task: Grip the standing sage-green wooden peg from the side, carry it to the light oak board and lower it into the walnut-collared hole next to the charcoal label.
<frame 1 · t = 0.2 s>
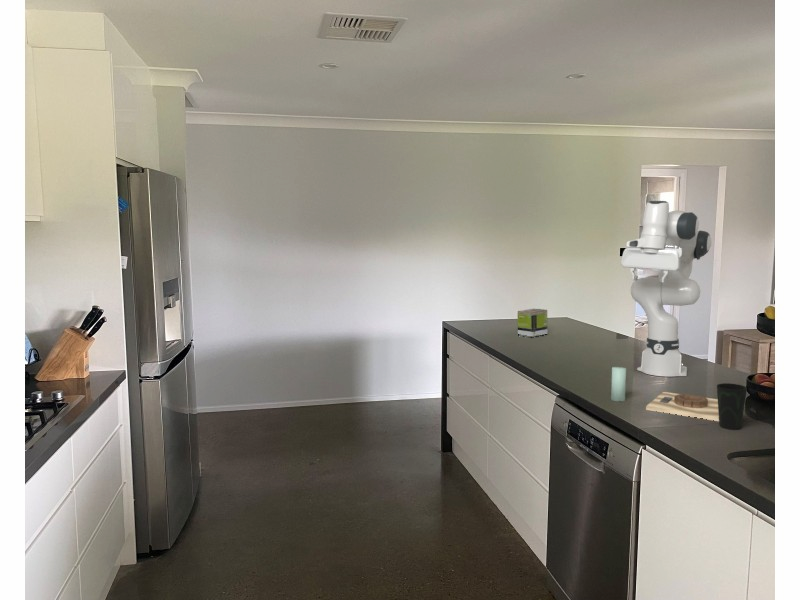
hand: (648, 281, 220), 39 cm above the worktop, tool pointing down, fingers open, 8 cm apart
tea box: (532, 336, 336), on the worktop
peg: (618, 399, 204), on the worktop
socket board: (690, 407, 194), on the worktop
cup: (730, 427, 174), on the worktop
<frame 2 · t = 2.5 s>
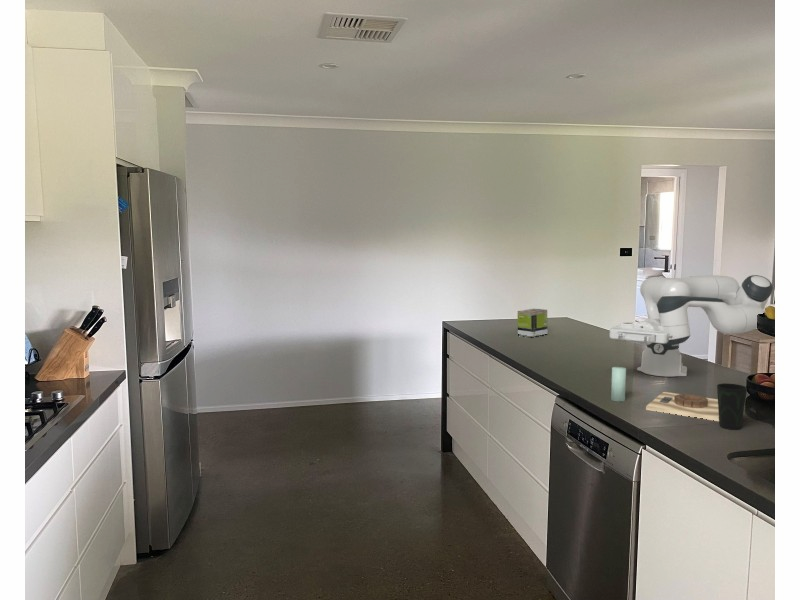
hand: (632, 338, 211), 20 cm above the worktop, tool horizontal, fingers open, 8 cm apart
nothing on the worktop moved.
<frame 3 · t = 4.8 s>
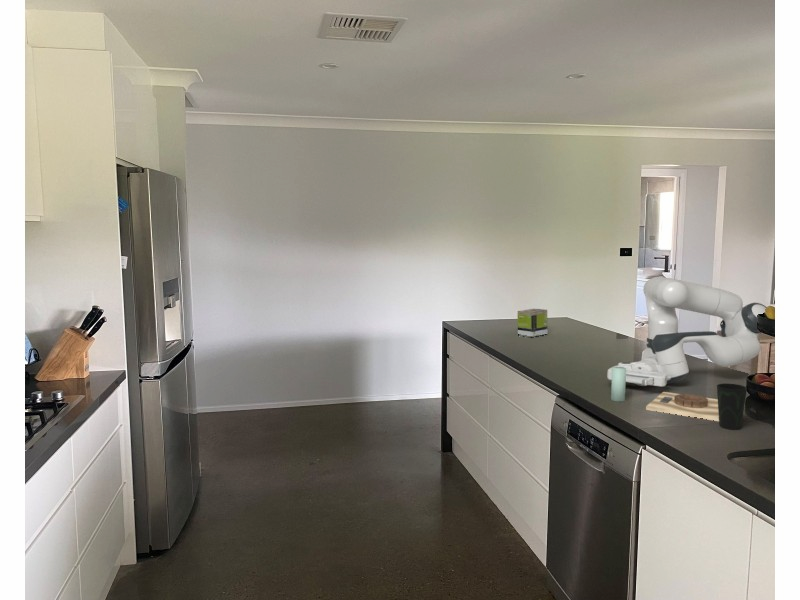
hand: (630, 381, 209), 5 cm above the worktop, tool horizontal, fingers open, 8 cm apart
nothing on the worktop moved.
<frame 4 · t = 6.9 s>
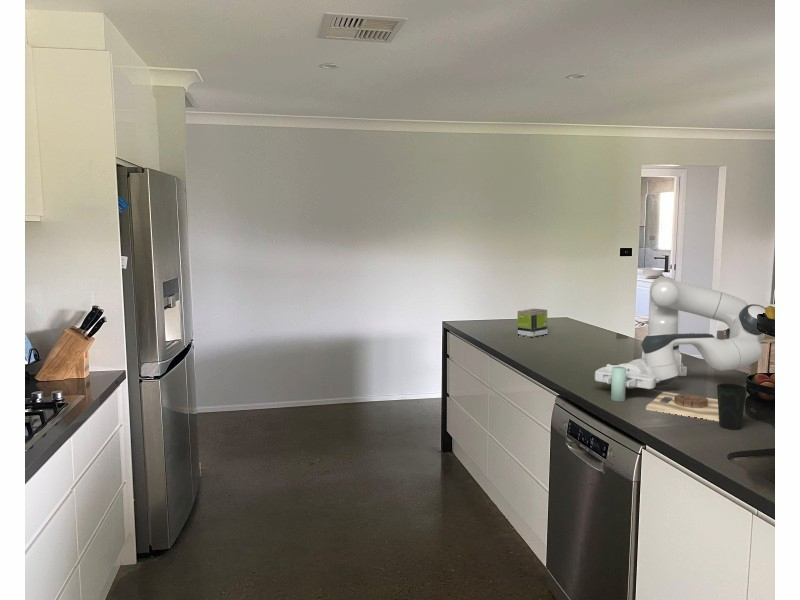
hand: (617, 382, 202), 6 cm above the worktop, tool horizontal, fingers closed on peg, 4 cm apart
peg: (618, 399, 204), on the worktop, touching gripper
everything else where it was.
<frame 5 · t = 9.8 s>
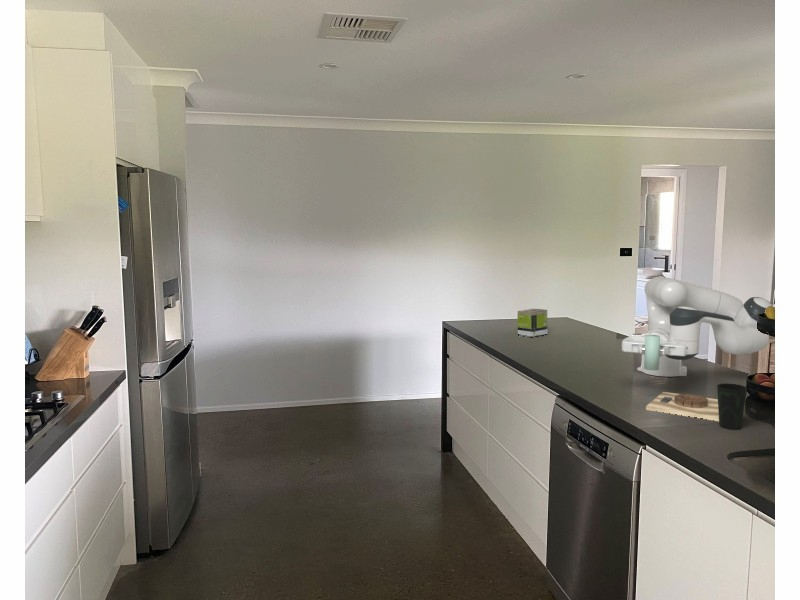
hand: (652, 351, 195), 18 cm above the worktop, tool horizontal, fingers closed on peg, 4 cm apart
peg: (651, 368, 197), point 12 cm above the worktop, touching gripper
everything else where it was.
when the fingers open (10 cm above the worktop, at t = 13.0 s): peg drops 3 cm, resting on socket board.
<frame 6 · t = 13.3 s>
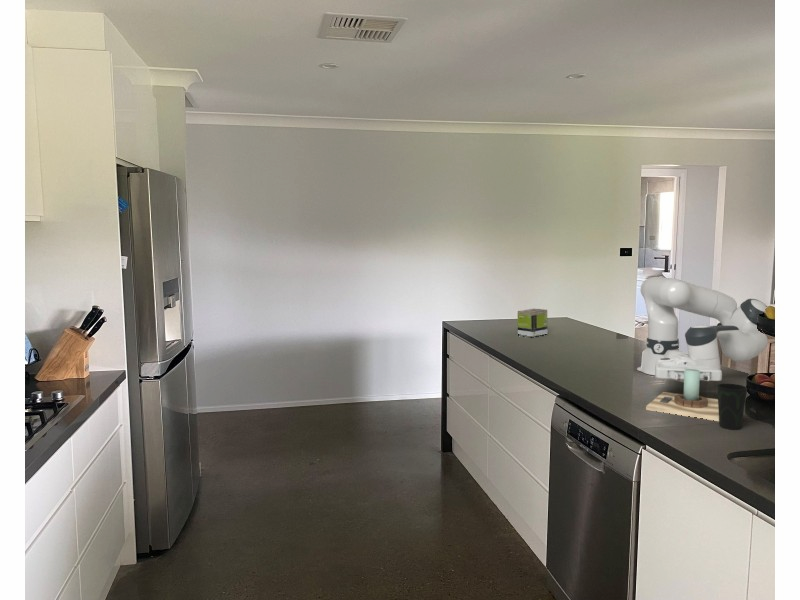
hand: (692, 378, 192), 10 cm above the worktop, tool horizontal, fingers open, 7 cm apart
peg: (690, 403, 193), point 1 cm above the worktop, touching socket board
everything else where it was.
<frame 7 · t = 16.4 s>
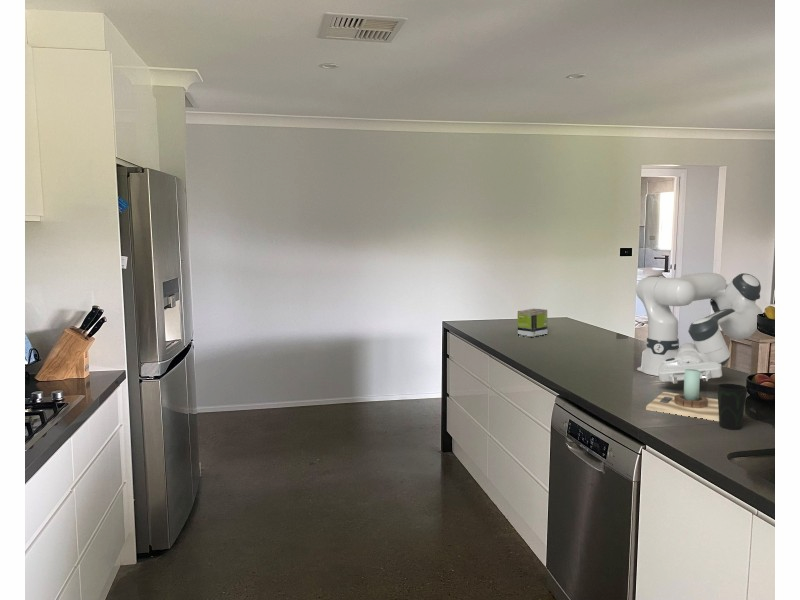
hand: (689, 380, 204), 6 cm above the worktop, tool horizontal, fingers open, 8 cm apart
nothing on the worktop moved.
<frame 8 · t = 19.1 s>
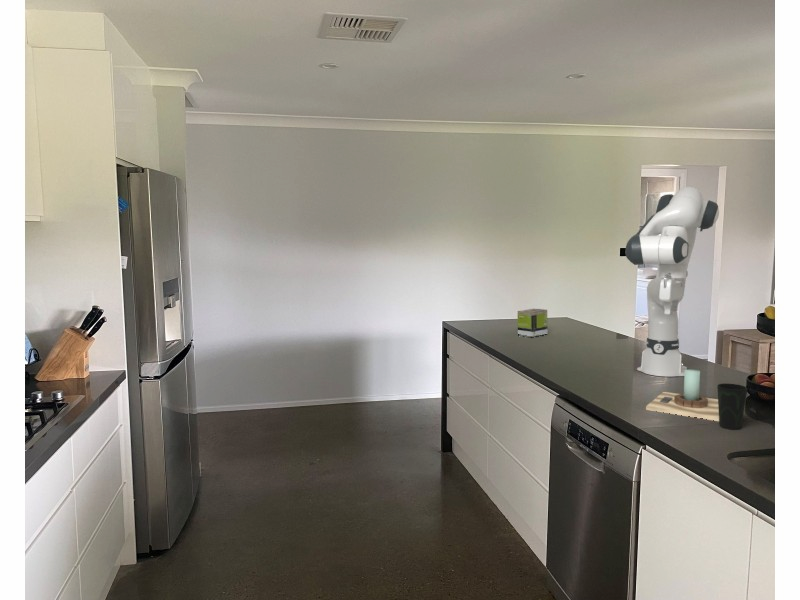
hand: (671, 312, 207), 29 cm above the worktop, tool pointing down, fingers open, 8 cm apart
nothing on the worktop moved.
at the end: peg 0.0 cm off-centre on the socket board, point 1.2 cm above the socket board's base; peg tilted 0°; the gripper is holding nothing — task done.
